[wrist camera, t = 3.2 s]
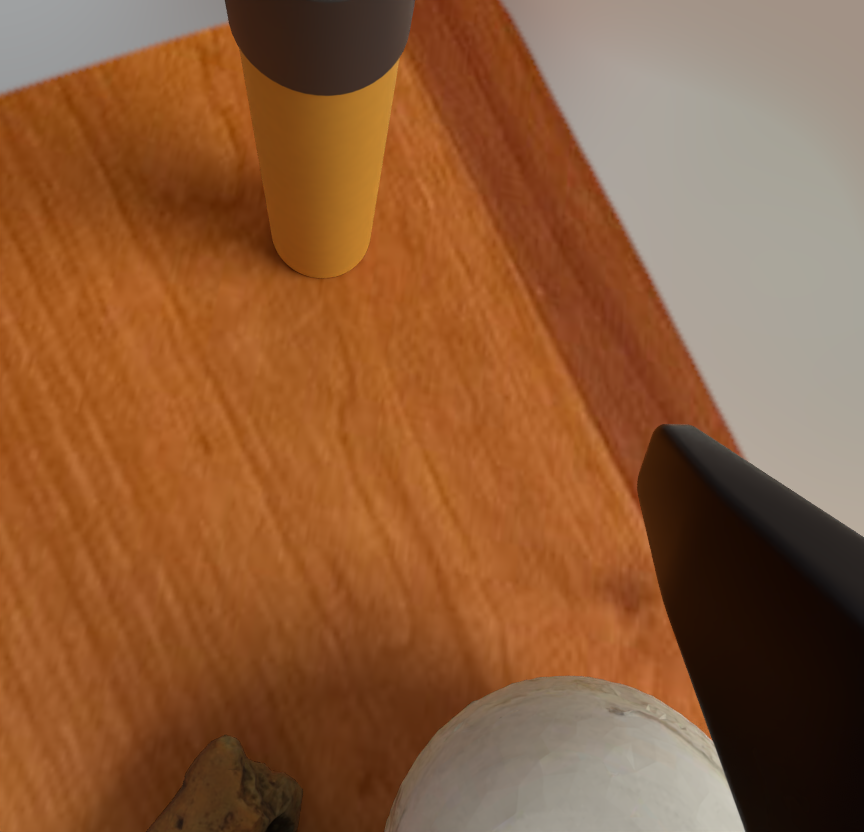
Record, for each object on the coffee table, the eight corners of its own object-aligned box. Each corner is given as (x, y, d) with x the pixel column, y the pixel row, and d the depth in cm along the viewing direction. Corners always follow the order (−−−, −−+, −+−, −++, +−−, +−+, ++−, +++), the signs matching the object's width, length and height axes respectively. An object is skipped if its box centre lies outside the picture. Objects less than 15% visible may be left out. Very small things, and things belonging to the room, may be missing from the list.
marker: (394, 227, 24) (472, -99, 11) (328, 302, 23) (335, 43, 11) (314, 162, 24) (305, -236, 11) (245, 235, 23) (157, -102, 11)
